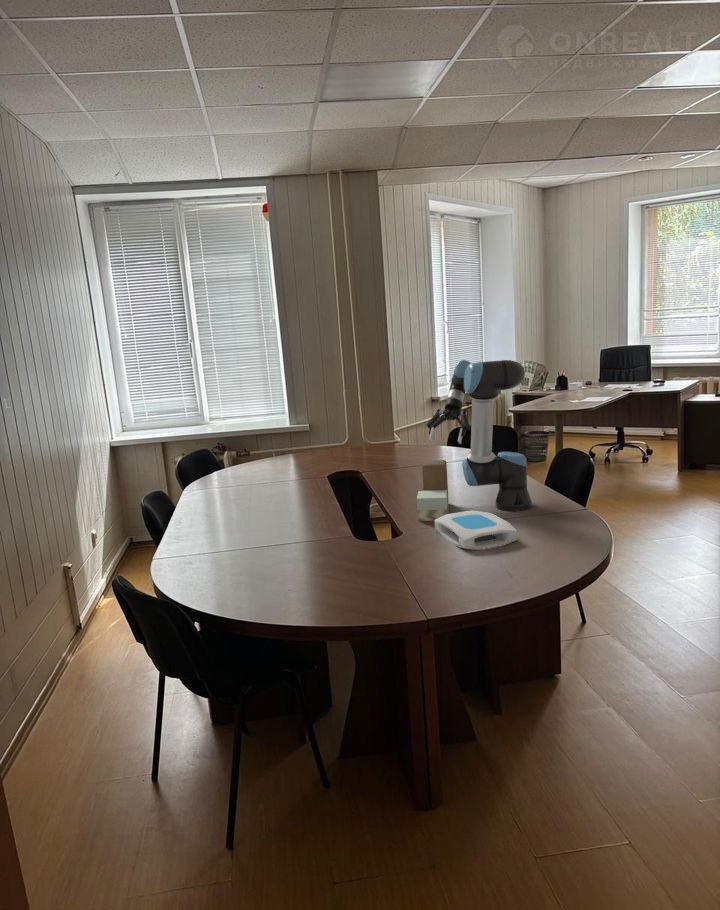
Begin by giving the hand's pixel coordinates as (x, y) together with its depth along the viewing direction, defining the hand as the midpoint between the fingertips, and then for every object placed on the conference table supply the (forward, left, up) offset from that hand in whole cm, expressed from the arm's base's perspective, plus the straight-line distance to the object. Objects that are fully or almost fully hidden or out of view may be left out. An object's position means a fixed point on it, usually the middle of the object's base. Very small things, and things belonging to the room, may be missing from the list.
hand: (444, 441), depth 295 cm
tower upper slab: (-8, +24, -22) cm, 33 cm away
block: (-1, +10, -27) cm, 29 cm away
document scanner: (-36, +38, -28) cm, 59 cm away
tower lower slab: (-8, +23, -27) cm, 37 cm away
